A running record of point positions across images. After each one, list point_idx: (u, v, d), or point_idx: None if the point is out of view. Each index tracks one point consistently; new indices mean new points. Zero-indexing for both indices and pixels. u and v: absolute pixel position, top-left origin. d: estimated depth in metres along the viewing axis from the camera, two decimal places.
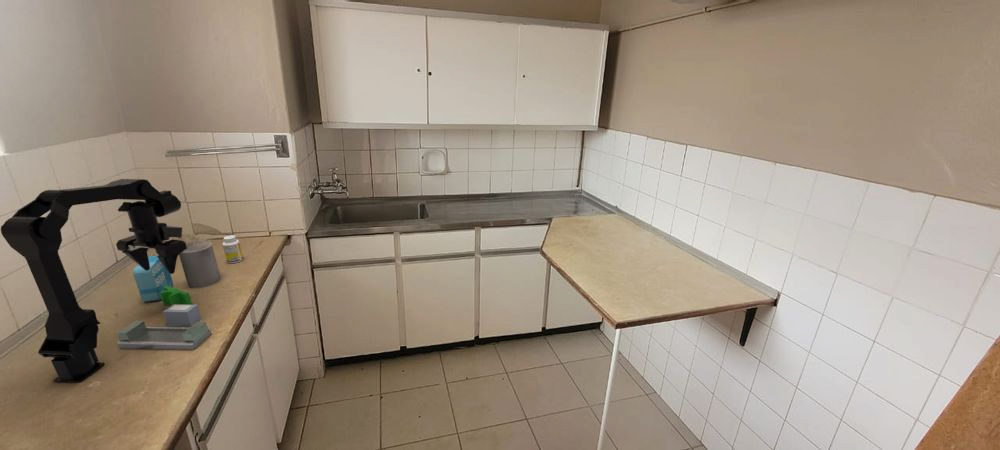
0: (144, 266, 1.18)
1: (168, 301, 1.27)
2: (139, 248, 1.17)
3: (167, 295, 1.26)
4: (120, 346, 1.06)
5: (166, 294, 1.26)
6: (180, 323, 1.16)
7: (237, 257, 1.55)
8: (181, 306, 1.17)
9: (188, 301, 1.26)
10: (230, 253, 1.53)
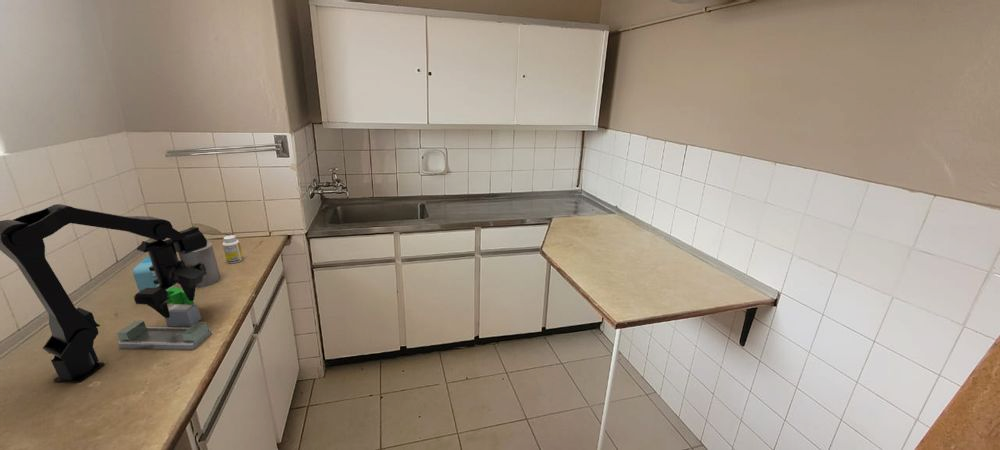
0: (187, 296, 1.20)
1: (170, 300, 1.27)
2: None
3: (169, 294, 1.27)
4: (120, 346, 1.06)
5: (168, 293, 1.27)
6: (180, 323, 1.16)
7: (237, 257, 1.55)
8: (181, 306, 1.17)
9: None
10: (230, 253, 1.53)
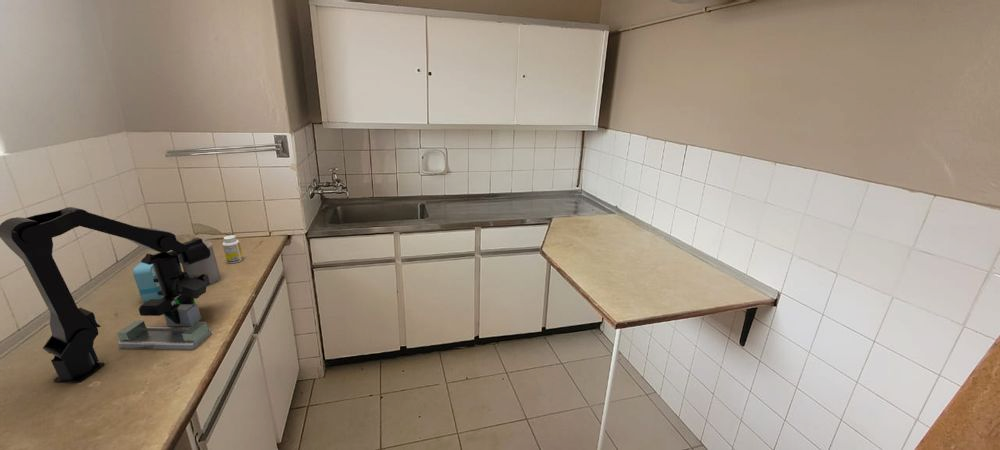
0: None
1: None
2: None
3: None
4: (120, 346, 1.06)
5: None
6: (180, 323, 1.16)
7: (237, 257, 1.55)
8: (181, 306, 1.17)
9: None
10: (230, 253, 1.53)
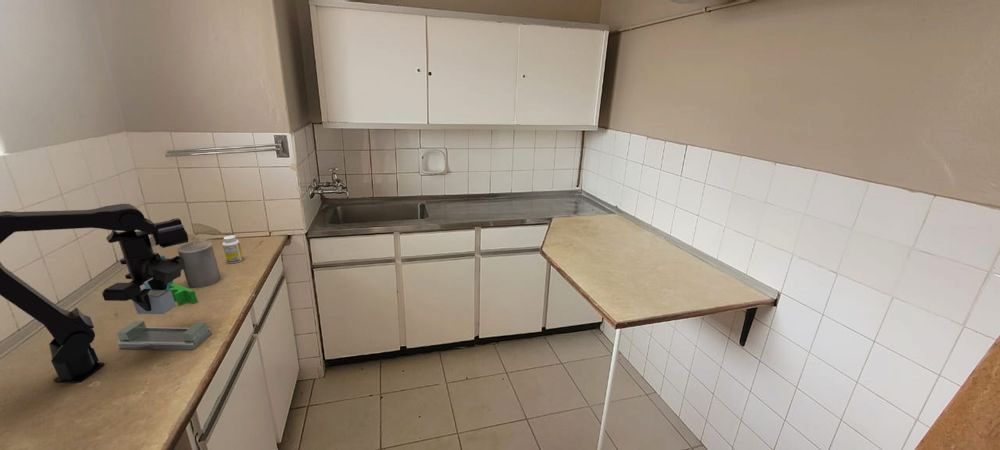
0: None
1: (174, 299, 1.28)
2: None
3: (173, 293, 1.28)
4: (120, 346, 1.06)
5: (172, 292, 1.28)
6: (151, 310, 1.04)
7: (237, 257, 1.55)
8: (153, 291, 1.05)
9: (194, 298, 1.27)
10: (230, 253, 1.53)
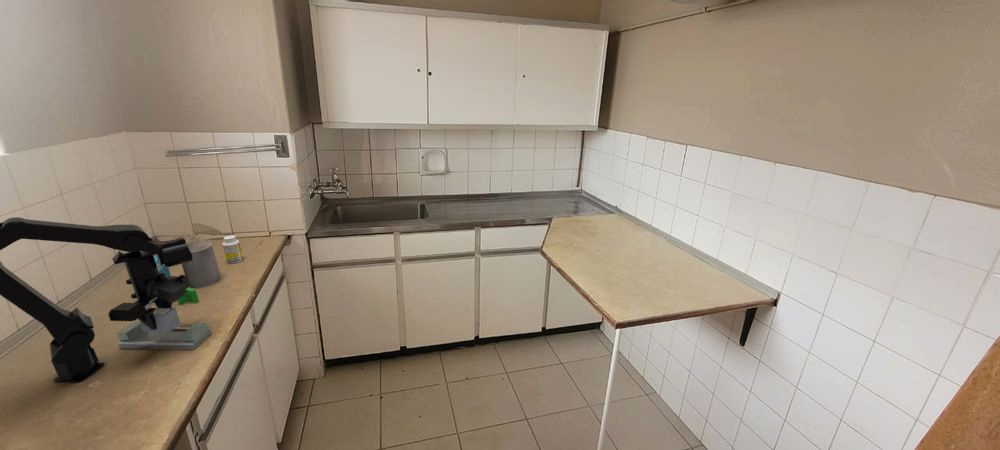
0: None
1: None
2: None
3: None
4: (120, 346, 1.06)
5: None
6: None
7: (237, 257, 1.55)
8: (158, 310, 1.06)
9: (195, 298, 1.28)
10: (230, 253, 1.53)
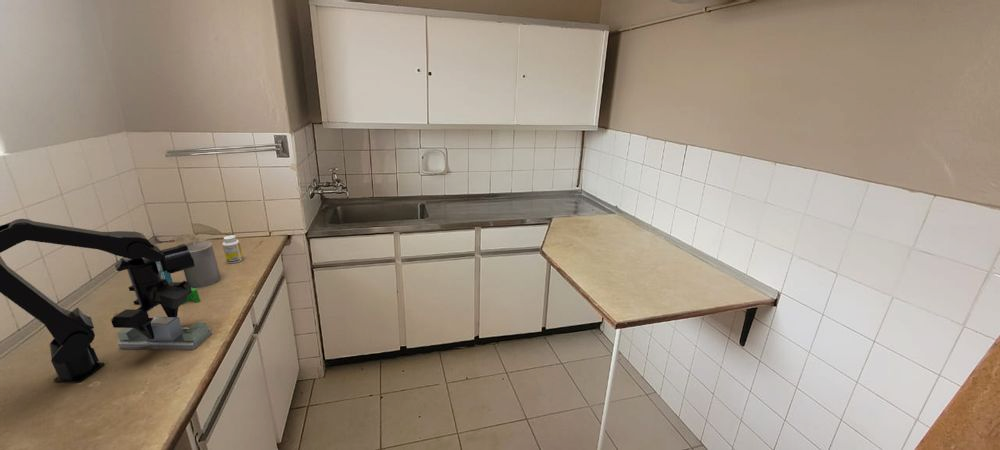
0: None
1: None
2: None
3: None
4: (120, 346, 1.06)
5: None
6: (160, 337, 1.07)
7: (237, 257, 1.55)
8: (161, 319, 1.08)
9: (197, 297, 1.28)
10: (230, 253, 1.53)
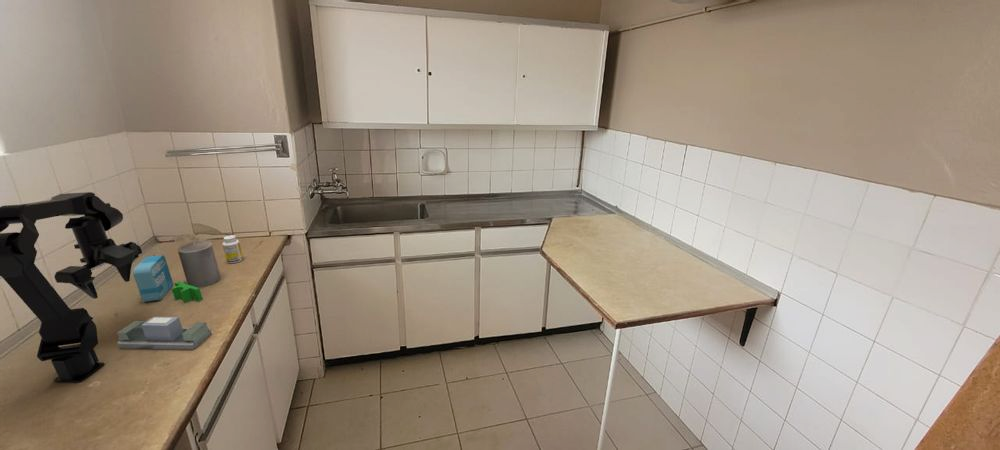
0: (122, 277, 1.15)
1: (179, 296, 1.30)
2: None
3: (178, 290, 1.29)
4: (120, 346, 1.06)
5: (178, 290, 1.29)
6: (160, 337, 1.07)
7: (237, 257, 1.55)
8: (161, 319, 1.08)
9: (199, 296, 1.29)
10: (230, 253, 1.53)
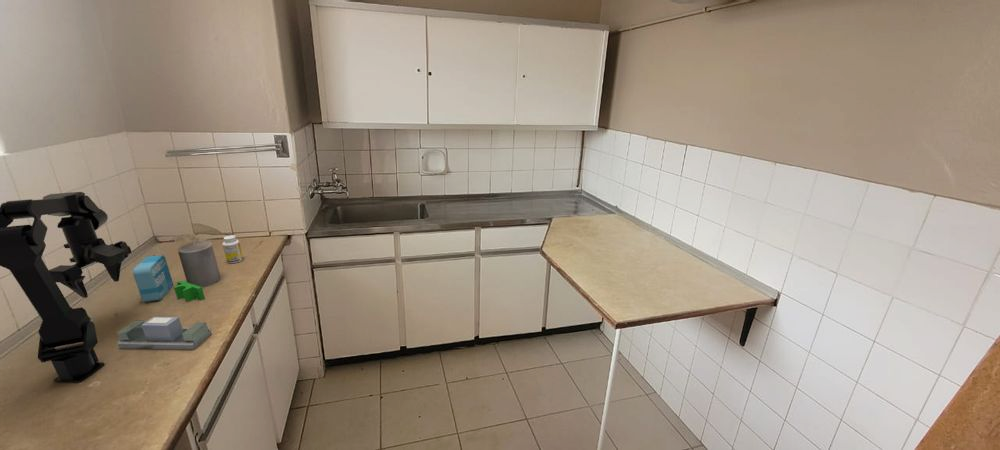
0: (112, 276, 1.16)
1: (182, 295, 1.30)
2: None
3: (181, 289, 1.30)
4: (120, 346, 1.06)
5: (180, 289, 1.30)
6: (160, 337, 1.07)
7: (237, 257, 1.55)
8: (161, 319, 1.08)
9: (202, 295, 1.29)
10: (230, 253, 1.53)
